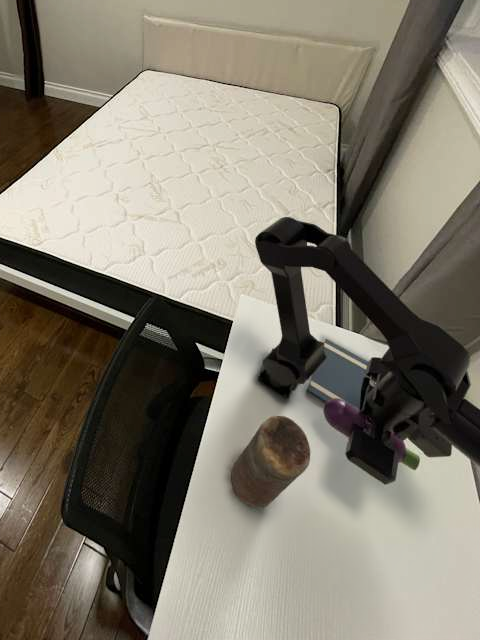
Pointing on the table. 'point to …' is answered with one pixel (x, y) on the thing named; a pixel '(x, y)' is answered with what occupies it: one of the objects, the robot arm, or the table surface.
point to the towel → (339, 375)
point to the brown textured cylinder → (270, 461)
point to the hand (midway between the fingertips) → (359, 431)
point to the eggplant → (346, 414)
